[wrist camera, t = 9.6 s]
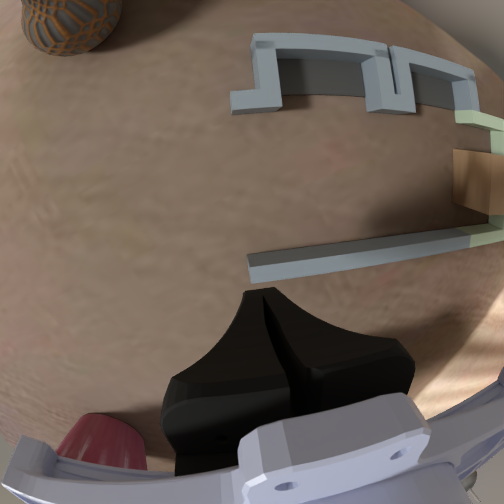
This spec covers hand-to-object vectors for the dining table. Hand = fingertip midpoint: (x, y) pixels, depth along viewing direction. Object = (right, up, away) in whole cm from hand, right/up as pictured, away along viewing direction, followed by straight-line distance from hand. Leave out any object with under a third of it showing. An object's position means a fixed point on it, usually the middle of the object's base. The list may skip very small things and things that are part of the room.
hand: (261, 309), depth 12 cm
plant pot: (-18, -21, +16) cm, 32 cm away
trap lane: (+12, +10, +8) cm, 18 cm away
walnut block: (+20, +10, +9) cm, 24 cm away
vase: (-13, +20, +2) cm, 24 cm away
